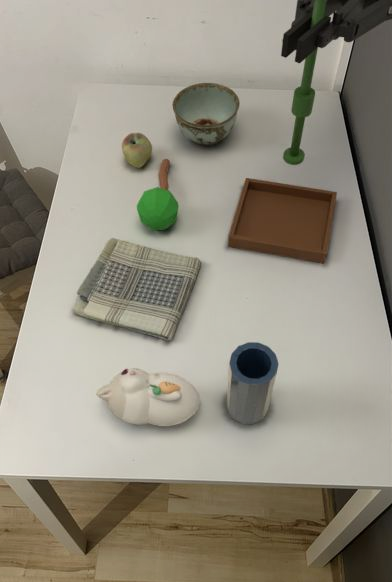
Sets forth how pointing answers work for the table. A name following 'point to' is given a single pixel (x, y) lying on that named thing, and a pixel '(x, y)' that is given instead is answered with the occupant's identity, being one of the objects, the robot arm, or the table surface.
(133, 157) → the apple
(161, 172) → the tree
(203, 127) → the bowl
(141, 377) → the cat figurine
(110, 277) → the dish towel
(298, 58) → the robot arm
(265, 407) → the vase
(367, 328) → the table surface
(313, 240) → the tray
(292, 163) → the flower
